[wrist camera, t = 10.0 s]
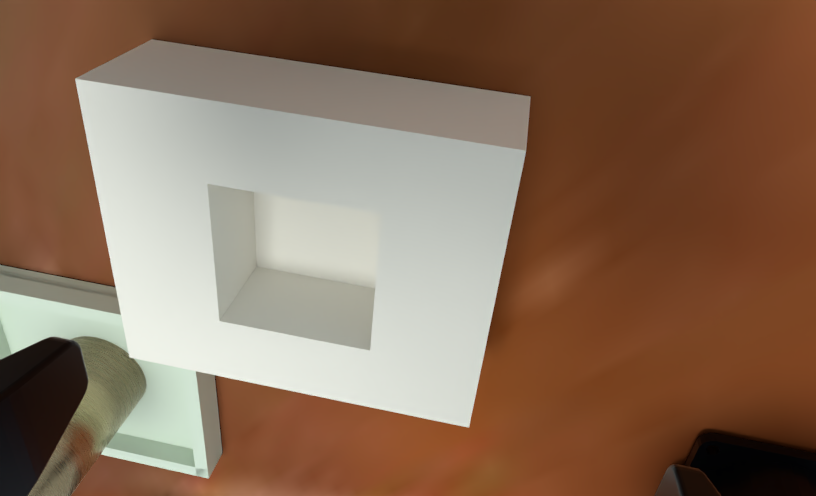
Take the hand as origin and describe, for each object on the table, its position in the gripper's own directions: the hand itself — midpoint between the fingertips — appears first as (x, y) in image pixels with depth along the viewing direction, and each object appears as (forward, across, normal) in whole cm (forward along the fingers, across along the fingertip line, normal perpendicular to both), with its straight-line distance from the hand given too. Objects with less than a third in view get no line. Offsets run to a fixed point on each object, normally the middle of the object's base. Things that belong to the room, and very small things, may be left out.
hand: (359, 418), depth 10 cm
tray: (+12, +14, +14) cm, 23 cm away
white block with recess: (+12, +4, +4) cm, 14 cm away
